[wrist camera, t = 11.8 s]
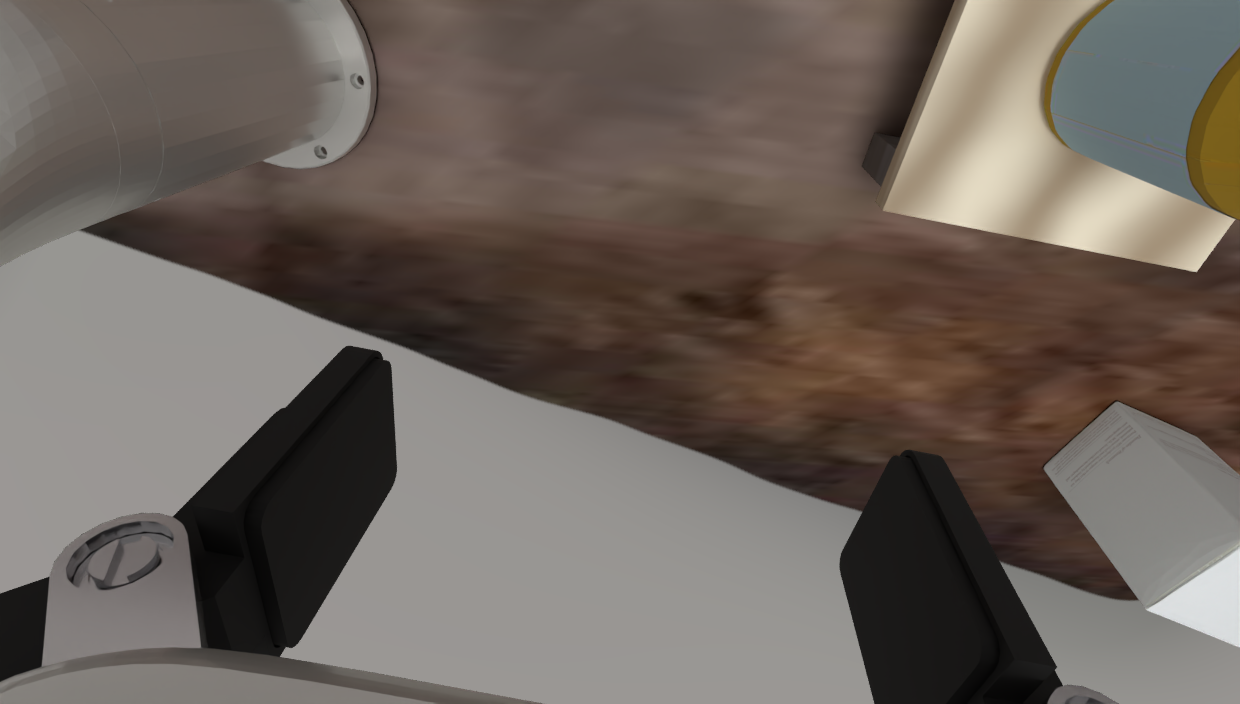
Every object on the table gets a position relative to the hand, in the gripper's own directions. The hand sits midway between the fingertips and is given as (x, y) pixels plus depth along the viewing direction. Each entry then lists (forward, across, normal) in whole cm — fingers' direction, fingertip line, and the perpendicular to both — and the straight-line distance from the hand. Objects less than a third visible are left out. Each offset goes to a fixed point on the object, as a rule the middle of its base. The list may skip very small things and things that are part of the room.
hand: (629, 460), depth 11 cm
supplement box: (+30, -37, +16) cm, 50 cm away
